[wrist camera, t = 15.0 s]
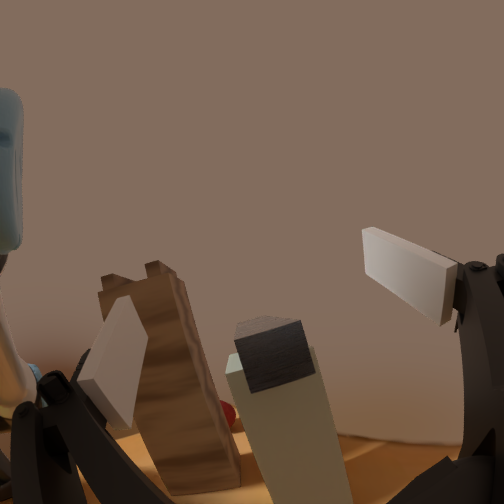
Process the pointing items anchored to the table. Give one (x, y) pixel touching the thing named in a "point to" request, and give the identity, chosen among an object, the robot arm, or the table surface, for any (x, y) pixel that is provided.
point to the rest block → (292, 438)
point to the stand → (176, 387)
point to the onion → (228, 413)
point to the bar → (272, 352)
